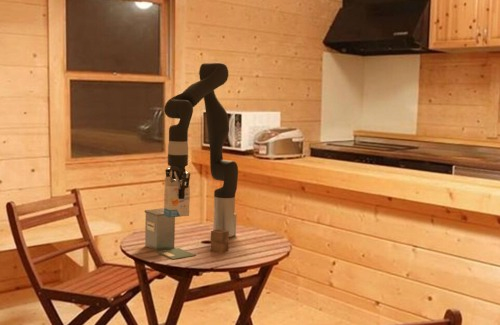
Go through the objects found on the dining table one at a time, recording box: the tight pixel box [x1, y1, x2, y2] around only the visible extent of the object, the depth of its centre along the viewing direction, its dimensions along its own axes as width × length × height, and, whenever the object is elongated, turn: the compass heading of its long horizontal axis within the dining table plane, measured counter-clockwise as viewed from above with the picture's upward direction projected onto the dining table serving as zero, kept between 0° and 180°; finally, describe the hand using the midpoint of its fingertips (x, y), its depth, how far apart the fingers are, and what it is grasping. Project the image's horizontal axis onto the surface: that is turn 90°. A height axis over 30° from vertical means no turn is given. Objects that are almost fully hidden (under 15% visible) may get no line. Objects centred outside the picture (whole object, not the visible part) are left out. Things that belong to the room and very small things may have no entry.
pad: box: [155, 247, 196, 260], centre depth 222 cm, size 10×12×1 cm
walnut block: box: [210, 229, 230, 254], centre depth 229 cm, size 5×5×8 cm
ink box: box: [163, 176, 191, 218], centre depth 220 cm, size 8×5×15 cm, turn 123°
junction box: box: [144, 207, 176, 252], centre depth 231 cm, size 9×10×15 cm
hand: (177, 197), depth 220 cm, fingers closed on ink box, 5 cm apart
